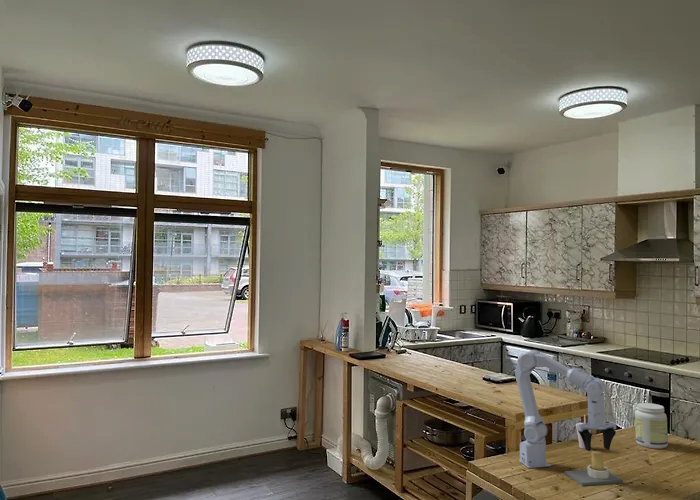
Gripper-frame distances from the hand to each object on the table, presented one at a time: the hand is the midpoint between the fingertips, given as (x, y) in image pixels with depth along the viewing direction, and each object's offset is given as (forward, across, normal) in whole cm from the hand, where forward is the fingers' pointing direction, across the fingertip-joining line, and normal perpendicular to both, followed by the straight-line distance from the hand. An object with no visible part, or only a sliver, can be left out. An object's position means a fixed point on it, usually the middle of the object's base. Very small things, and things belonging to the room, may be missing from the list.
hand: (597, 449), depth 191 cm
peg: (+9, 0, 0) cm, 9 cm away
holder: (+10, -2, 0) cm, 10 cm away
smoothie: (+10, +15, +31) cm, 36 cm away
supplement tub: (+10, +46, +29) cm, 55 cm away
